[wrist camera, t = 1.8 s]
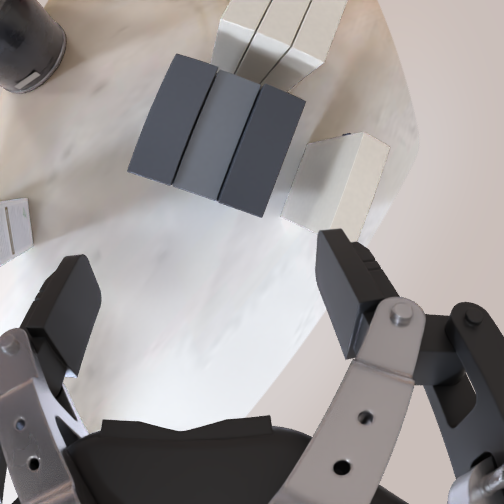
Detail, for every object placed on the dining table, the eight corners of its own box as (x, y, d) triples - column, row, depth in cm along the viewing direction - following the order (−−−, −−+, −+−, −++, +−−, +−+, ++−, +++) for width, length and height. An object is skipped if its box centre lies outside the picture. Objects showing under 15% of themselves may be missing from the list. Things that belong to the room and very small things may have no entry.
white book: (279, 216, 34) (325, 238, 22) (307, 142, 32) (364, 129, 21) (301, 224, 34) (354, 249, 23) (328, 152, 33) (391, 145, 22)
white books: (208, 70, 29) (219, 19, 17) (238, 10, 27) (262, -51, 16) (279, 98, 31) (324, 63, 19) (304, 37, 29) (352, -11, 18)
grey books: (147, 173, 30) (125, 171, 19) (179, 91, 29) (176, 51, 18) (237, 203, 33) (262, 218, 22) (268, 124, 31) (306, 101, 20)
